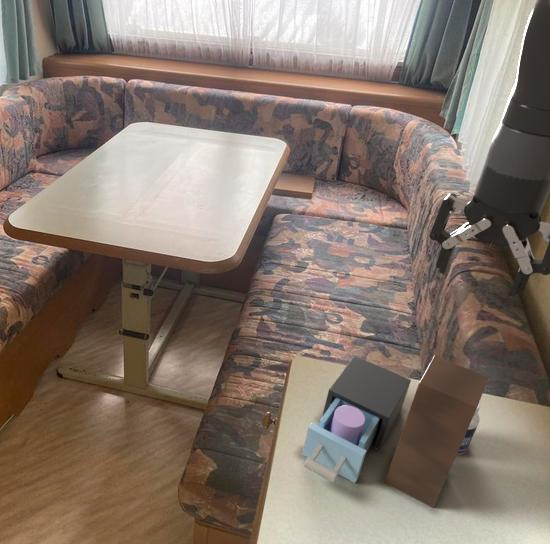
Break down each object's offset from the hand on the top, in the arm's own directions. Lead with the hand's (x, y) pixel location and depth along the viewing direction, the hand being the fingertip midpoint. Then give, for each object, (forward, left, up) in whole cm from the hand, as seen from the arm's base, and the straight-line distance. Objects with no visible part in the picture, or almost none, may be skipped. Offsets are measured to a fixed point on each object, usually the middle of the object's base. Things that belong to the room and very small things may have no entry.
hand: (476, 282), depth 75 cm
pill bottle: (-4, -2, -30) cm, 31 cm away
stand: (-2, +8, -30) cm, 31 cm away
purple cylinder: (+9, +10, -28) cm, 31 cm away
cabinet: (+9, +1, -30) cm, 31 cm away
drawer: (+9, +12, -29) cm, 33 cm away
